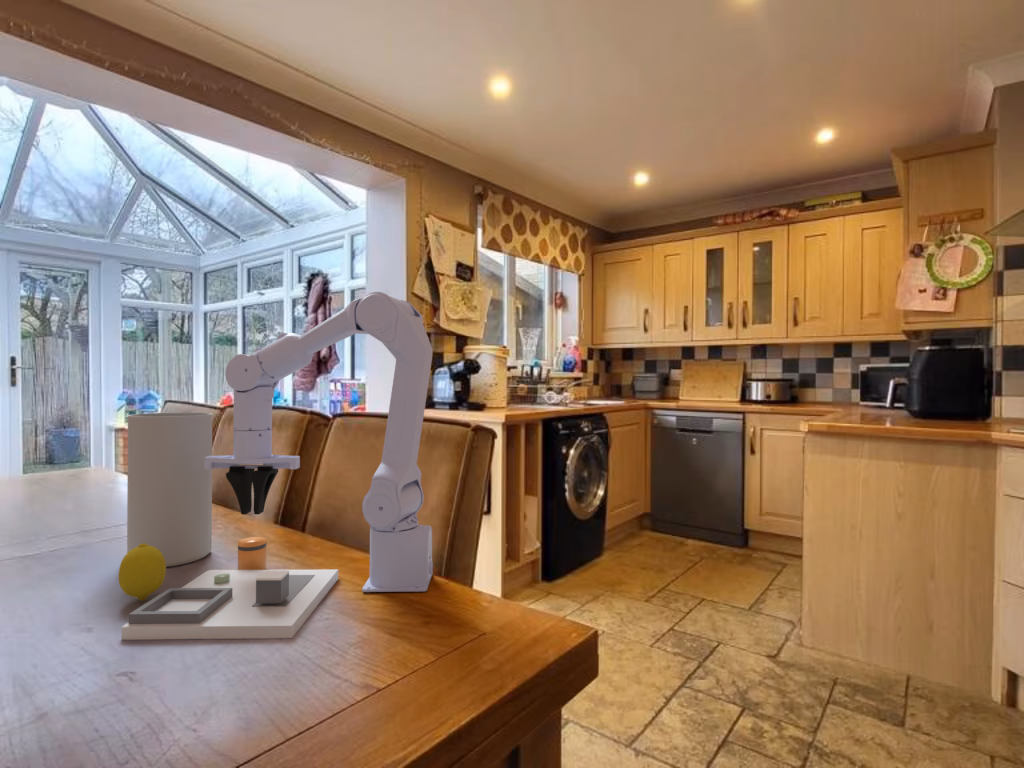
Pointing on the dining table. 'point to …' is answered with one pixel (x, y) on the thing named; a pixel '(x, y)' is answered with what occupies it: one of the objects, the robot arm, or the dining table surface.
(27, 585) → the dining table surface
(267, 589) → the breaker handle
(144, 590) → the lemon
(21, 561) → the dining table surface
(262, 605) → the board
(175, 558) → the cylinder vase
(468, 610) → the dining table surface
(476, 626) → the dining table surface
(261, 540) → the cap
